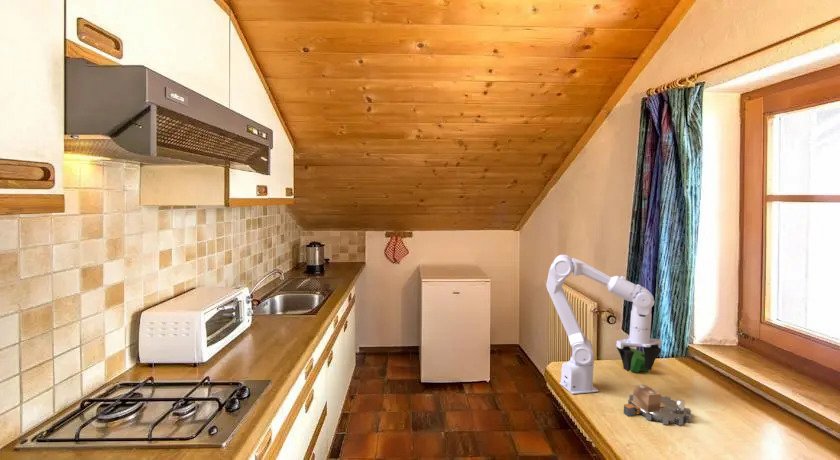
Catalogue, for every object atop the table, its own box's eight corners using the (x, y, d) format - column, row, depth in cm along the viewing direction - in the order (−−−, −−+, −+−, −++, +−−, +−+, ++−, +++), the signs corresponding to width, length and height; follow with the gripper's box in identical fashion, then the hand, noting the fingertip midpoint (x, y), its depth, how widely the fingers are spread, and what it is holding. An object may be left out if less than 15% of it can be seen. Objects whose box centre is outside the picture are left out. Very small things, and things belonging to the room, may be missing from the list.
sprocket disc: (619, 408, 126) (620, 392, 126) (640, 392, 137) (641, 377, 137) (680, 431, 114) (681, 413, 114) (698, 411, 125) (699, 395, 125)
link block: (659, 410, 122) (660, 393, 121) (647, 412, 121) (649, 394, 121) (644, 400, 128) (645, 384, 127) (632, 402, 127) (633, 385, 126)
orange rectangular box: (627, 416, 122) (628, 407, 122) (623, 413, 124) (624, 404, 124) (635, 415, 123) (635, 406, 123) (630, 412, 125) (631, 403, 124)
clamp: (644, 384, 154) (655, 367, 149) (627, 378, 155) (637, 361, 150) (641, 361, 164) (651, 344, 159) (625, 356, 165) (634, 339, 160)
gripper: (628, 331, 127) (625, 375, 128) (670, 330, 130) (667, 373, 131) (613, 324, 134) (610, 366, 135) (653, 323, 137) (650, 363, 138)
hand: (637, 369), depth 134 cm, fingers open, 7 cm apart
